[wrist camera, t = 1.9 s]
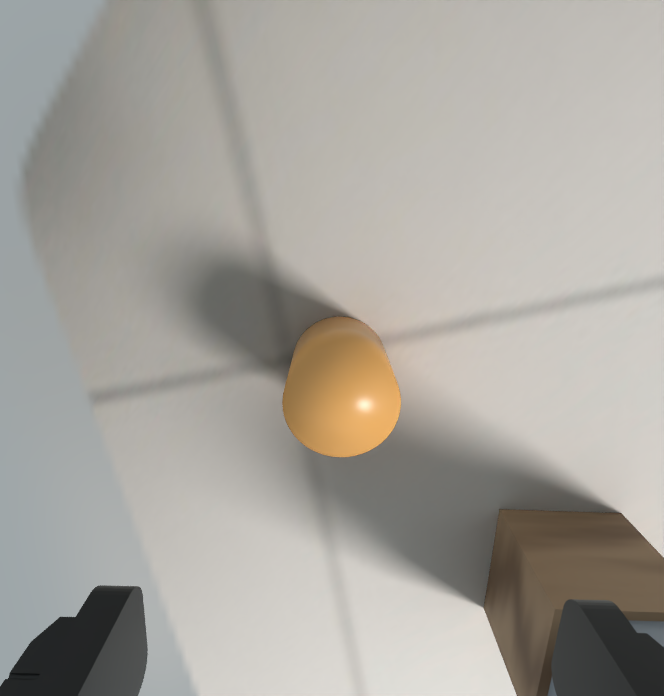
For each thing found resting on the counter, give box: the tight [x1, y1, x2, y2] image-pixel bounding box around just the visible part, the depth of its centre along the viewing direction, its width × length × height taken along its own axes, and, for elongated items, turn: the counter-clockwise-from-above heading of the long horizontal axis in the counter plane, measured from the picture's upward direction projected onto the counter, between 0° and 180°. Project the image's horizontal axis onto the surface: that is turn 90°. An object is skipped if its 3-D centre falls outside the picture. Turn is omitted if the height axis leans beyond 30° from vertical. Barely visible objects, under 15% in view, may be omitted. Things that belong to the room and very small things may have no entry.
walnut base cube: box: [484, 509, 664, 696], centre depth 25 cm, size 7×7×7 cm
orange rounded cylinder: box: [282, 317, 401, 457], centre depth 22 cm, size 5×5×6 cm
